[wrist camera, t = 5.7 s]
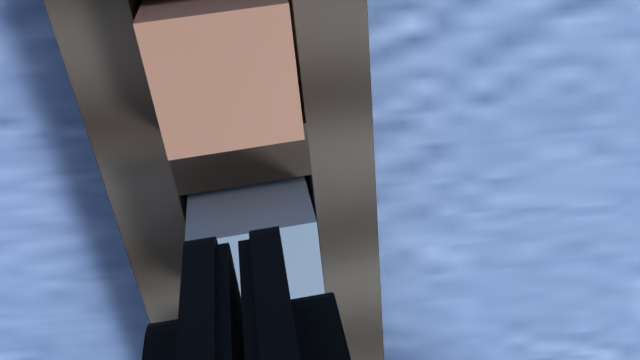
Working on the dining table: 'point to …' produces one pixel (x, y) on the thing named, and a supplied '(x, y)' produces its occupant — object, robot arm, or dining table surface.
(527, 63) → the dining table surface
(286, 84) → the terracotta button
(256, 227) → the slate button
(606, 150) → the dining table surface
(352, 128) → the console
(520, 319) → the dining table surface
